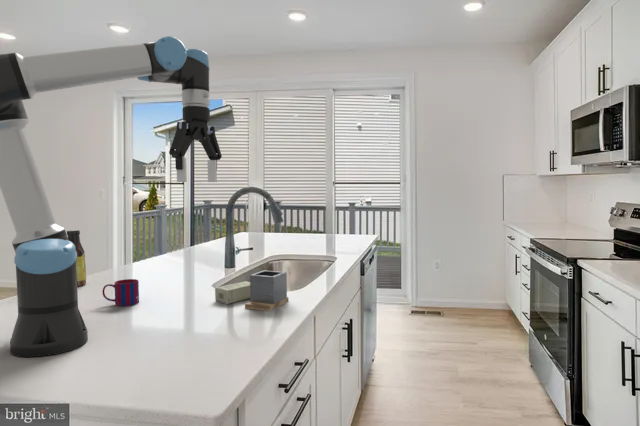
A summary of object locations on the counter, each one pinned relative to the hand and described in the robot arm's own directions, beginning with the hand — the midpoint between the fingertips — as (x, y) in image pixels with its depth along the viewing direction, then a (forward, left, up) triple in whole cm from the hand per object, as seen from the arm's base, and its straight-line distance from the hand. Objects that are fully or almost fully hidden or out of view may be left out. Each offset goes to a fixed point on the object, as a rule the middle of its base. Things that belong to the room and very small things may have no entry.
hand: (197, 182), depth 131 cm
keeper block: (+11, -16, -37) cm, 42 cm away
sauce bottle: (+8, +61, -37) cm, 71 cm away
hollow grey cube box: (+12, -16, -36) cm, 41 cm away
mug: (-5, +25, -37) cm, 45 cm away
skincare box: (+7, -2, -34) cm, 35 cm away
